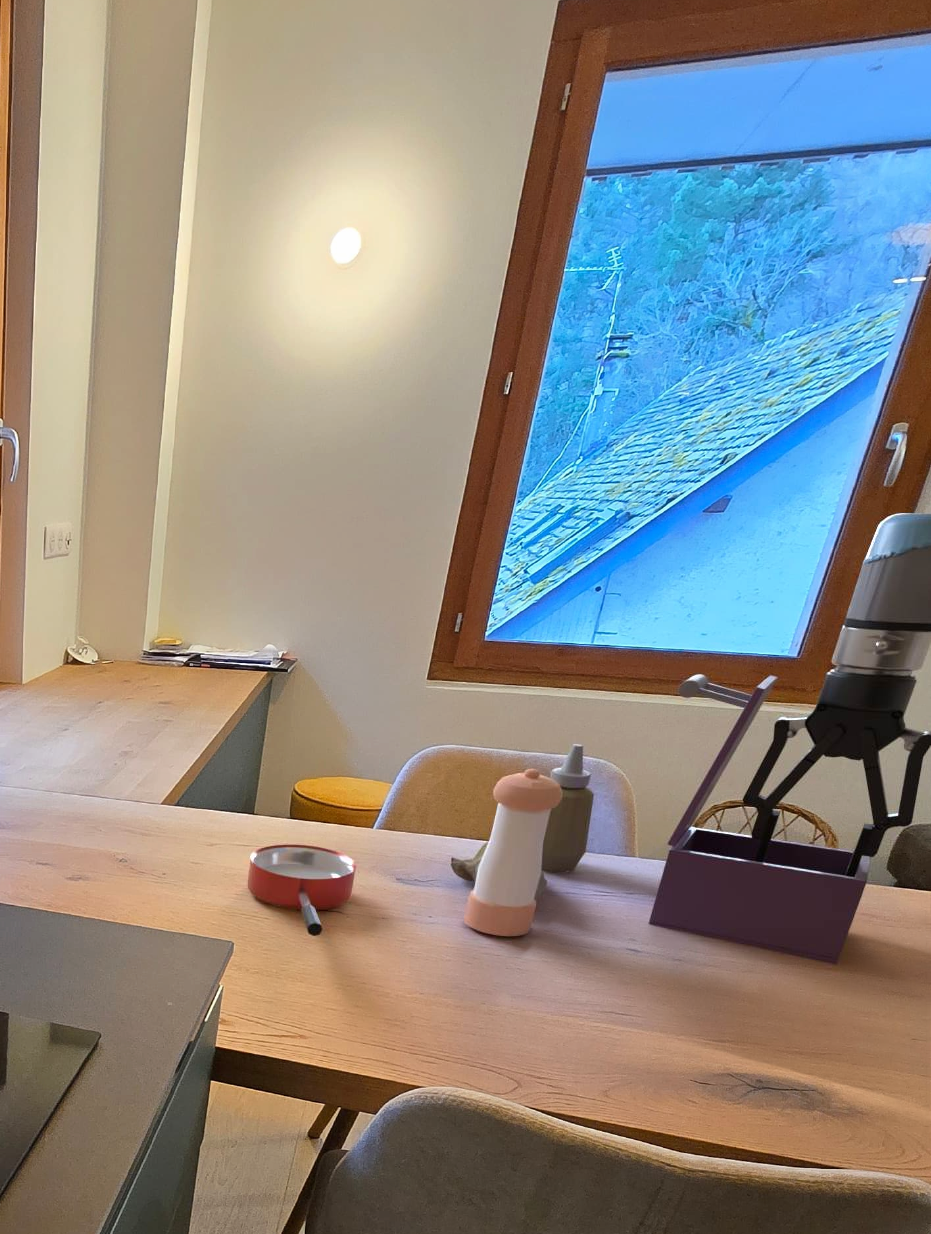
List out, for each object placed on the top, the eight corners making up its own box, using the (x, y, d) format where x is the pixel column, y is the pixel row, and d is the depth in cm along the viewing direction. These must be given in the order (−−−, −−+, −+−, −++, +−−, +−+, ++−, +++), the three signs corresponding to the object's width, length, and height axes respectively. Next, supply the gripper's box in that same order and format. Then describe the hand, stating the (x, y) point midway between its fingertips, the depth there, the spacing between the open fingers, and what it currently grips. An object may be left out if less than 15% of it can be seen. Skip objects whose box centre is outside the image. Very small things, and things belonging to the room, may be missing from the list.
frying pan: (393, 981, 114) (404, 927, 111) (270, 974, 116) (277, 921, 113) (340, 876, 142) (348, 832, 139) (242, 872, 144) (247, 828, 141)
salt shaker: (505, 941, 123) (543, 781, 114) (450, 920, 128) (483, 767, 120) (543, 928, 126) (583, 772, 117) (488, 908, 131) (522, 758, 123)
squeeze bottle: (581, 868, 148) (614, 742, 140) (576, 886, 142) (611, 755, 134) (517, 858, 152) (547, 735, 144) (510, 875, 146) (540, 747, 138)
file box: (842, 934, 125) (872, 853, 121) (835, 967, 115) (866, 881, 112) (666, 901, 136) (688, 826, 132) (646, 929, 126) (669, 849, 122)
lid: (777, 677, 122) (704, 657, 126) (764, 689, 113) (685, 667, 117) (693, 824, 132) (627, 801, 136) (674, 847, 122) (603, 821, 126)
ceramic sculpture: (482, 846, 128) (454, 816, 142) (468, 912, 131) (442, 878, 145) (578, 851, 126) (539, 821, 139) (561, 919, 129) (525, 883, 143)
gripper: (752, 664, 115) (691, 863, 124) (1005, 683, 103) (917, 902, 112) (759, 659, 120) (700, 850, 129) (1002, 676, 108) (918, 886, 117)
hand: (801, 874), depth 121 cm, fingers open, 8 cm apart
